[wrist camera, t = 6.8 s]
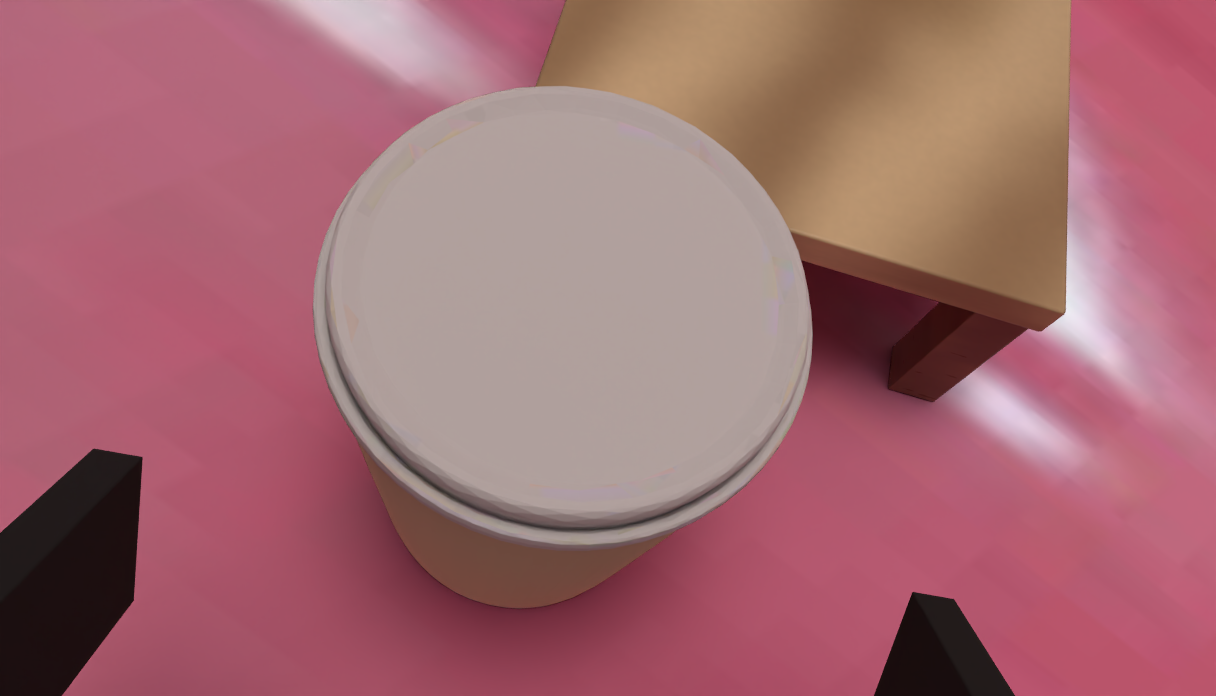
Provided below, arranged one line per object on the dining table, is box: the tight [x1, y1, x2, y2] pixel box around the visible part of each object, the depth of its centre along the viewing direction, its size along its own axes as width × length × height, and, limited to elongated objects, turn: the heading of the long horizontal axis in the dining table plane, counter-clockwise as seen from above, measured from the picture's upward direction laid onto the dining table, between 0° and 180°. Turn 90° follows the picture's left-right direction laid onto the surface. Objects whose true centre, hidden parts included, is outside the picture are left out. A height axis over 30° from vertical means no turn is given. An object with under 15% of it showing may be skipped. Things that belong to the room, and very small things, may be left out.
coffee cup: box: [313, 86, 813, 608], centre depth 23 cm, size 9×9×12 cm
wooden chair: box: [535, 0, 1071, 402], centre depth 28 cm, size 15×16×14 cm
